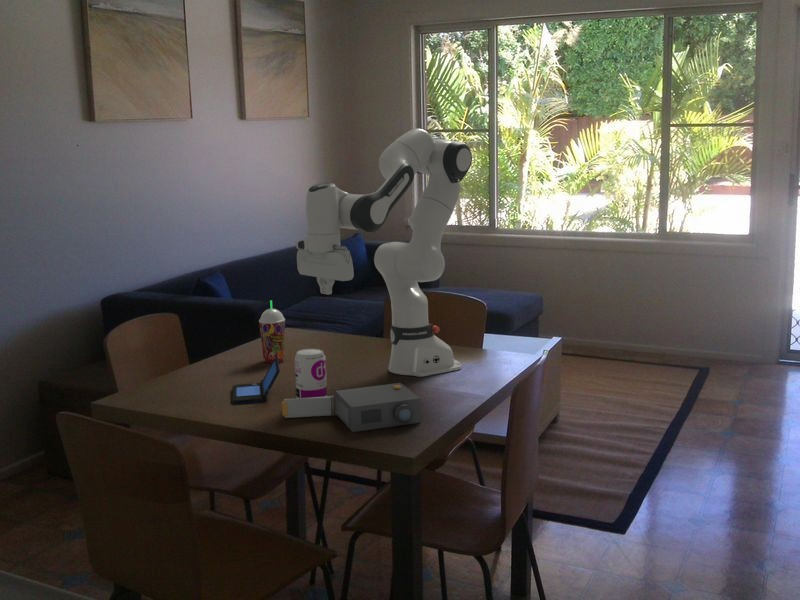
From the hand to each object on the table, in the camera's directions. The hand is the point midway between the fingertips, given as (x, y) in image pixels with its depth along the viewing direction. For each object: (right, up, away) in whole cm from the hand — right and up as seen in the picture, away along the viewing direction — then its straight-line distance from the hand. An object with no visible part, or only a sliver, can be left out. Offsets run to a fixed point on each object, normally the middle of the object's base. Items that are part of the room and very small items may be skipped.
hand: (326, 293), depth 246 cm
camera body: (+15, -32, -16) cm, 39 cm away
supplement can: (-4, -31, -3) cm, 31 cm away
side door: (-3, -32, -13) cm, 35 cm away
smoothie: (-21, -22, +44) cm, 53 cm away
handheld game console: (-20, -29, +8) cm, 36 cm away
